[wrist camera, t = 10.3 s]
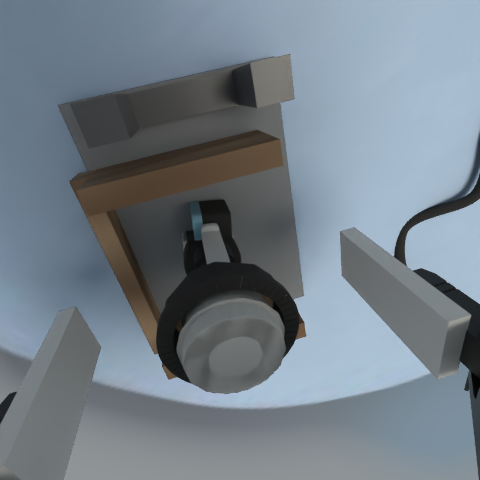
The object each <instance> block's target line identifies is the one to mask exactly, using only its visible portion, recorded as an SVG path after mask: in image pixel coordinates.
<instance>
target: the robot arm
mask: <svg viewBox="0 0 480 480" xmlns="http://www.w3.org/2000/svg"><path fill="white" fill-rule="evenodd" d="M340 242H341V266H342V276H343V277H344V278H345V279H346V280H347V282H348V283H349V284H350V285H351V286H352V287H353V288H354V289H355V290H356V291H357V292H358V294H359V295H360V296H361V297H362V298H363V299H364V300H365V301H366V302H367V303H368V304H369V306H370V307H371V308H372V309H373V310H374V311H375V312H376V313H377V314H378V315H379V316H380V317H381V319H382V320H383V321H384V322H385V323H386V324H387V325H388V326H389V327H390V328H391V329H392V331H393V332H394V333H395V334H396V335H397V336H398V337H399V338H400V339H401V340H402V341H403V343H404V344H405V345H406V346H407V347H408V348H409V349H410V350H411V351H412V352H413V353H414V354H415V356H416V357H417V358H418V359H419V360H420V361H421V362H422V363H423V364H424V365H425V366H426V368H427V369H428V370H429V371H430V372H431V373H432V374H433V375H434V376H435V377H436V378H437V379H441V378H443V377H447V376H450V375H453V374H455V373H457V372H458V368H459V364H460V361H461V362H462V363H463V364H464V365H465V366H466V367H467V368H468V369H469V373H468V377H467V381H466V384H465V389H464V390H466V391H468V390H470V398H471V409H472V417H473V427H474V436H475V446H476V455H477V465H478V475H479V480H480V304H478V303H477V302H476V301H474V300H473V299H471V298H470V297H468V296H467V295H465V294H464V293H463V292H461V291H460V290H458V289H456V288H455V287H454V286H453V285H451V284H450V283H447V282H446V281H445V280H444V279H442V278H441V277H440V276H438V275H437V274H435V273H432V272H430V271H427V270H424V269H422V268H421V269H417V270H414V271H412V270H411V269H409V268H408V267H407V266H405V265H404V264H403V263H401V262H400V261H399V260H397V259H396V258H395V257H393V256H392V255H391V254H389V253H388V252H387V251H385V250H384V249H383V248H381V247H380V246H379V245H377V244H376V243H375V242H373V241H372V240H371V239H369V238H368V237H367V236H365V235H364V234H363V233H361V232H360V231H359V230H357V229H356V228H355V227H354V228H350V229H347V230H343V231H340ZM100 349H101V346H100V345H99V343H98V341H97V340H96V338H95V336H94V335H93V333H92V332H91V330H90V328H89V327H88V325H87V323H86V322H85V320H84V319H83V317H82V315H81V314H80V312H79V310H78V309H77V307H76V306H75V307H72V308H68V309H65V310H61V311H59V313H58V314H57V316H56V318H55V320H54V322H53V324H52V326H51V328H50V330H49V332H48V334H47V336H46V338H45V339H44V341H43V343H42V345H41V347H40V349H39V351H38V353H37V355H36V357H35V359H34V361H33V363H32V364H31V366H30V369H29V370H28V372H27V374H26V376H25V378H24V380H23V382H22V384H21V386H20V388H19V389H18V391H17V392H14V393H11V394H9V395H8V396H7V397H6V398H5V400H4V401H3V402H2V403H1V404H0V480H64V476H65V472H66V469H67V466H68V462H69V459H70V455H71V451H72V448H73V445H74V441H75V437H76V434H77V430H78V426H79V423H80V420H81V416H82V412H83V409H84V406H85V402H86V398H87V395H88V391H89V388H90V384H91V381H92V377H93V374H94V370H95V367H96V363H97V360H98V356H99V353H100Z"/></svg>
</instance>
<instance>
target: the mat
mask: <svg viewBox="0 0 480 480" xmlns="http://www.w3.org/2000/svg"><path fill="white" fill-rule="evenodd" d="M270 58H274V56H273V57H269V58H265V59H270ZM265 59H260V60H256V61H251V62H247V63H242V64H238V65H234V66H229V67H225V68H220V69H216V70H211V71H207V72H203V73H198V74H194V75H189V76H185V77H180V78H176V79H172V80H167V81H163V82H158V83H154V84H149V85H145V86H141V87H136V88H132V89H127V90H123V91H119V92H114V93H110V94H105V95H101V96H96V97H92V98H88V99H83V100H79V101H74V102H70V103H65V104H61V105H58V107H59V109H60V111H61V114H62V116H63V118H64V120H65V122H66V125H67V127H68V129H69V131H70V133H71V136H72V138H73V140H74V142H75V144H76V147H77V149H78V151H79V153H80V155H81V158H82V160H83V162H84V164H85V166H86V169H87V171H92V170H96V169H100V168H104V167H108V166H112V165H116V164H120V163H124V162H128V161H133V160H137V159H141V158H145V157H149V156H153V155H157V154H161V153H165V152H169V151H173V150H177V149H181V148H185V147H189V146H193V145H197V144H201V143H205V142H209V141H213V140H217V139H221V138H225V137H230V136H234V135H238V134H242V133H246V132H250V131H254V130H259V131H262V132H264V133H267V134H269V135H271V136H274V137H276V138H279V139H280V142H281V150H282V157H283V165H284V166H280V167H276V168H273V169H269V170H265V171H261V172H257V173H253V174H250V175H246V176H242V177H238V178H234V179H230V180H227V181H223V182H219V183H215V184H211V185H207V186H204V187H200V188H196V189H192V190H188V191H184V192H181V193H177V194H173V195H169V196H165V197H161V198H158V199H154V200H150V201H146V202H142V203H138V204H135V205H131V206H127V207H123V208H119V209H115V211H116V213H117V215H118V218H119V220H120V222H121V225H122V227H123V229H124V231H125V234H126V236H127V238H128V241H129V243H130V245H131V247H132V250H133V252H134V254H135V257H136V259H137V261H138V263H139V266H140V268H141V270H142V273H143V275H144V277H145V279H146V282H147V284H148V286H149V289H150V291H151V293H152V295H153V298H154V300H155V302H156V304H157V307H158V309H159V311H160V314H161V313H162V311H163V309H164V308H165V303H166V300H167V299H168V297H169V296H170V295H171V294H172V293H173V292H174V290H175V289H176V288H177V287H178V286H179V284H180V283H181V282H182V281H183V280H184V279H185V277H186V276H187V274H186V272H185V269H184V257H183V253H184V249H183V240H182V232H183V234H184V241H187V238H186V231H191V230H193V229H192V219H191V213H190V204H189V202H199V201H211V200H225V202H226V204H227V206H228V208H229V210H230V213H231V222H232V233H233V235H234V240H235V242H236V244H237V246H238V249H239V251H240V254H241V263H247V264H255V265H257V266H258V267H260V268H261V269H263V270H264V271H266V272H267V273H269V274H270V275H272V277H273V278H274V279H275V280H276V281H278V282H279V283H280V284H281V285H283V286H284V287H285V289H286V290H287V291H288V292H289V294H290V295H291V297H292V299H295V298H298V297H302V296H304V292H303V284H302V276H301V268H300V260H299V252H298V244H297V236H296V227H295V219H294V211H293V203H292V195H291V187H290V179H289V171H288V163H287V155H286V147H285V139H284V131H283V123H282V115H281V107H280V103H276V104H272V105H268V106H264V107H260V108H254V107H248V106H242V105H237V106H232V107H228V108H224V109H220V110H216V111H211V112H207V113H203V114H199V115H195V116H190V117H186V118H182V119H178V120H174V121H169V122H165V123H161V124H157V125H153V126H149V127H144V128H140V129H139V130H138V131H137V132H136V133H135V134H134V135H133V136H132V137H131V138H130V139H127V140H123V141H118V142H114V143H110V144H106V145H102V146H98V147H94V148H88V145H87V143H86V141H85V138H84V136H83V134H82V132H81V129H80V127H79V125H78V122H77V120H76V118H75V116H74V113H73V111H72V109H71V106H70V104H71V103H75V102H80V101H84V100H89V99H93V98H98V97H102V96H106V95H111V94H129V93H134V92H138V91H142V90H147V89H151V88H156V87H160V86H164V85H169V84H173V83H178V82H182V81H186V80H191V79H195V78H200V77H204V76H208V75H213V74H217V73H222V72H226V71H230V70H234V69H236V68H239V67H241V66H244V65H246V64H249V63H252V62H257V61H261V60H265Z"/></svg>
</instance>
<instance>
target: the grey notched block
mask: <svg viewBox="0 0 480 480" xmlns="http://www.w3.org/2000/svg"><path fill="white" fill-rule="evenodd" d="M293 99H294V89H293V79H292V69H291V59H290V54H288V55H283V56H279V57H274V58H270V59H265V60H261V61H257V62H252V63H249V64H246V65H244V66H241V67H239V68H236V69H234V70H230V71H226V72H222V73H217V74H213V75H208V76H204V77H200V78H195V79H191V80H186V81H182V82H178V83H173V84H169V85H164V86H160V87H156V88H151V89H147V90H142V91H138V92H134V93H129V94H111V95H106V96H102V97H98V98H93V99H89V100H84V101H80V102H75V103H71V104H70V106H71V109H72V111H73V113H74V116H75V118H76V120H77V122H78V125H79V127H80V129H81V132H82V134H83V136H84V138H85V141H86V143H87V145H88V148H94V147H98V146H102V145H106V144H110V143H114V142H118V141H123V140H127V139H130V138H131V137H132V136H133V135H134V134H135V133H136V132H137V131H138V130H139V129H140V128H144V127H149V126H153V125H157V124H161V123H165V122H169V121H174V120H178V119H182V118H186V117H190V116H195V115H199V114H203V113H207V112H211V111H216V110H220V109H224V108H228V107H232V106H237V105H242V106H248V107H254V108H260V107H264V106H268V105H272V104H276V103H280V102H285V101H289V100H293Z"/></svg>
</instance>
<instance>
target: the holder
mask: <svg viewBox="0 0 480 480" xmlns="http://www.w3.org/2000/svg"><path fill="white" fill-rule="evenodd" d="M280 166H284V165H283V157H282V150H281V142H280V139H279V138H276V137H274V136H271V135H269V134H267V133H264V132H262V131H259V130H254V131H250V132H246V133H242V134H238V135H234V136H230V137H225V138H221V139H217V140H213V141H209V142H205V143H201V144H197V145H193V146H189V147H185V148H181V149H177V150H173V151H169V152H165V153H161V154H157V155H153V156H149V157H145V158H141V159H137V160H133V161H128V162H124V163H120V164H116V165H112V166H108V167H104V168H100V169H96V170H92V171H88V172H84V173H80V174H78V175H77V176H75V177H74V178H73V179H72V180H71V181H70V184H71V186H72V188H73V190H74V192H75V194H76V196H77V198H78V200H79V202H80V204H81V206H82V208H83V210H84V213H85V215H86V217H87V219H88V221H89V223H90V225H91V227H92V229H93V231H94V233H95V235H96V237H97V239H98V241H99V243H100V245H101V247H102V249H103V251H104V253H105V255H106V257H107V259H108V261H109V263H110V265H111V267H112V269H113V271H114V273H115V275H116V277H117V279H118V281H119V283H120V285H121V287H122V289H123V291H124V293H125V295H126V298H127V300H128V302H129V304H130V306H131V308H132V310H133V312H134V314H135V316H136V318H137V320H138V322H139V324H140V326H141V328H142V330H143V332H144V334H145V336H146V338H147V340H148V342H149V344H150V346H151V348H152V350H153V352H154V354H158V351H157V347H156V334H157V325H158V321H159V318H160V315H161V314H160V311H159V309H158V307H157V304H156V302H155V300H154V298H153V295H152V293H151V291H150V289H149V286H148V284H147V282H146V279H145V277H144V275H143V273H142V270H141V268H140V266H139V263H138V261H137V259H136V257H135V254H134V252H133V250H132V247H131V245H130V243H129V241H128V238H127V236H126V234H125V231H124V229H123V227H122V225H121V222H120V220H119V218H118V215H117V213H116V211H115V209H119V208H123V207H127V206H131V205H135V204H138V203H142V202H146V201H150V200H154V199H158V198H161V197H165V196H169V195H173V194H177V193H181V192H184V191H188V190H192V189H196V188H200V187H204V186H207V185H211V184H215V183H219V182H223V181H227V180H230V179H234V178H238V177H242V176H246V175H250V174H253V173H257V172H261V171H265V170H269V169H273V168H276V167H280ZM264 296H265V295H264ZM265 298H266V300H267V302H268V304H269V306H270V307H271V308H272V307H273V301H272V300H271V299H270V298H268V297H267V296H265ZM176 327H177V329H178V331H179V332H181V330H182V329H181V319H180V320H179V322H178V324H177V326H176ZM305 336H306V333H305V325H304V321H303V320H302V318H301V316H300V315H299V330H298V334H297V337H296V339H299V338H302V337H305ZM296 339H295V340H296ZM162 367H163V369H164V371H165V373H166V376H167V378H168V380H169V379H173V378H176V377H177V376H175V375H174V374H172V373H171V372H170V371H169V370H168V369H167V368H166V367H165V365H164V364H163V363H162Z"/></svg>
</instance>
